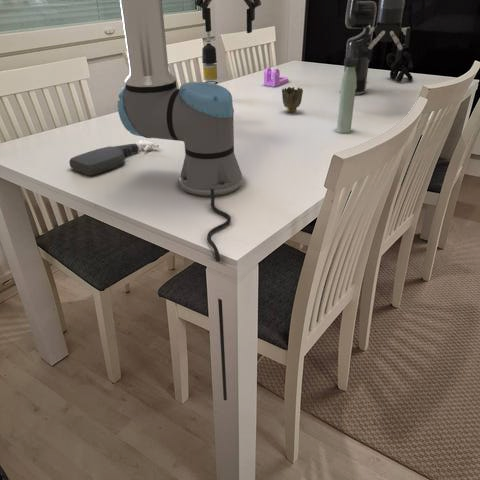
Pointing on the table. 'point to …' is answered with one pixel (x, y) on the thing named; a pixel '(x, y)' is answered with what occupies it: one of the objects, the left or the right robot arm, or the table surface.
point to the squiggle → (399, 66)
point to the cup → (292, 98)
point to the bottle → (346, 100)
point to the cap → (351, 62)
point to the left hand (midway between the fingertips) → (228, 32)
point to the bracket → (273, 78)
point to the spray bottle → (106, 157)
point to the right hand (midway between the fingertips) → (383, 61)
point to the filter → (209, 61)
